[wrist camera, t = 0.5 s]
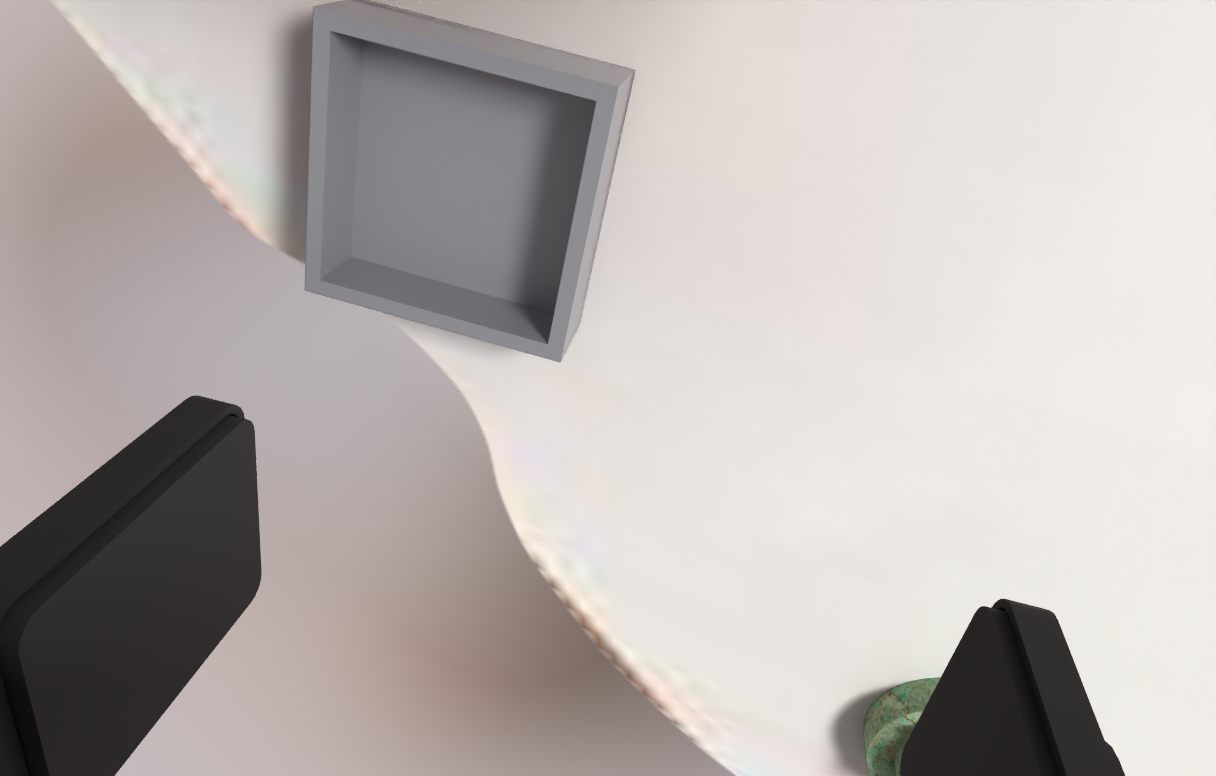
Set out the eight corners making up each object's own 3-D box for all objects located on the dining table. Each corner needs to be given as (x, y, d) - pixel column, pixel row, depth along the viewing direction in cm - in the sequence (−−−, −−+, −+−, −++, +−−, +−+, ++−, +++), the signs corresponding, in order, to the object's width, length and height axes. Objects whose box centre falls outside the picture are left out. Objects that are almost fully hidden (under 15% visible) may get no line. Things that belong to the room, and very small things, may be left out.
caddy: (359, -3, 40) (313, 6, 37) (635, 70, 40) (618, 86, 36) (344, 259, 47) (304, 290, 43) (579, 325, 47) (560, 362, 43)
